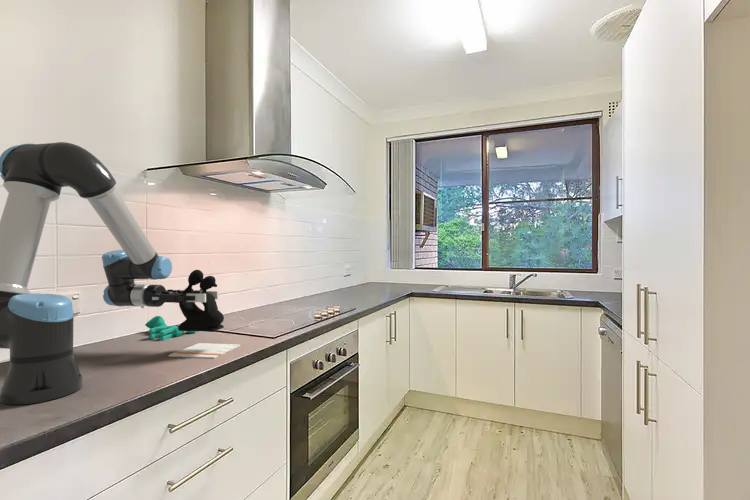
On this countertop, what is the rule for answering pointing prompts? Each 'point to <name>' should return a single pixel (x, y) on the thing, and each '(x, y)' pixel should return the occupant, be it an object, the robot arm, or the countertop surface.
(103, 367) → the countertop surface
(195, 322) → the figurine
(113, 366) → the countertop surface
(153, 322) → the toy
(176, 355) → the mat
